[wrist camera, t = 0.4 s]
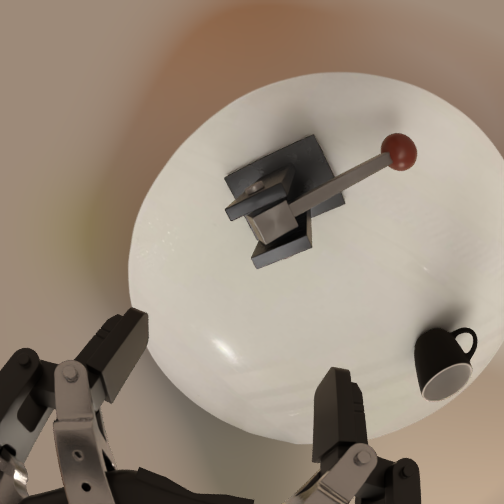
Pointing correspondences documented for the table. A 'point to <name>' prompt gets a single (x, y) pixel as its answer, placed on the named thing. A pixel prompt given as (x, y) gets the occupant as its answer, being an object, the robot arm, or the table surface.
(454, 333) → the mug
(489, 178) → the table surface
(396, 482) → the robot arm
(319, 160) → the bracket
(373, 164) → the lever
